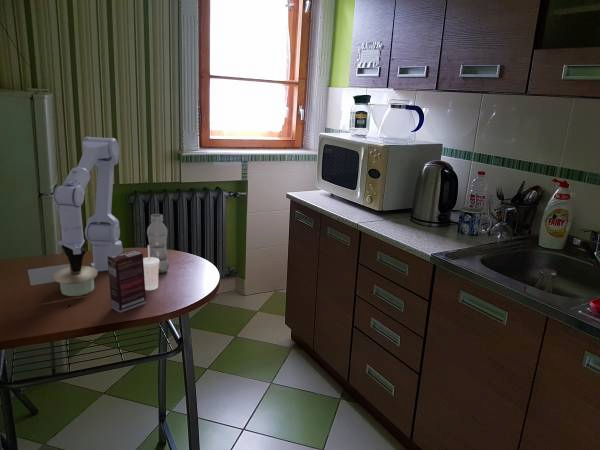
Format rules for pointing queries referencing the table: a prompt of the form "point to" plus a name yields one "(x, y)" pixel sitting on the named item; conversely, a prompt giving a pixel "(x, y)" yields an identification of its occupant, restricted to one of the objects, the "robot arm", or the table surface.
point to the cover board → (75, 275)
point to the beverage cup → (151, 272)
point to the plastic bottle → (158, 241)
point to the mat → (44, 274)
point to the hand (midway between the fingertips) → (75, 269)
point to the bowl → (77, 288)
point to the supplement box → (126, 280)
